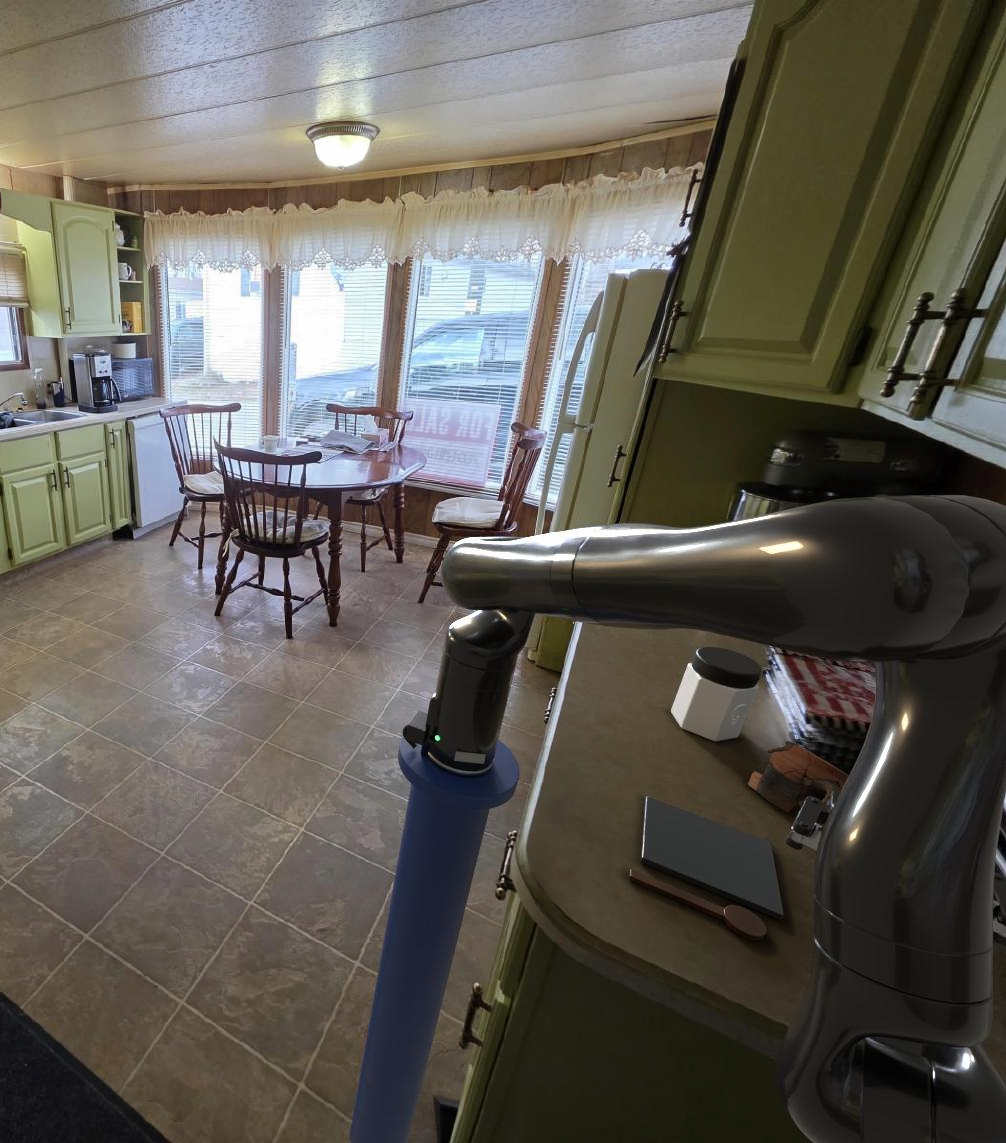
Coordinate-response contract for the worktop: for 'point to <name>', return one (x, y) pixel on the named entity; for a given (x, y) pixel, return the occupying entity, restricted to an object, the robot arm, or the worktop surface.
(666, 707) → the worktop surface
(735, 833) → the slate board
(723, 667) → the jar
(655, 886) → the spoon
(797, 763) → the pottery mug
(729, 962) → the worktop surface
